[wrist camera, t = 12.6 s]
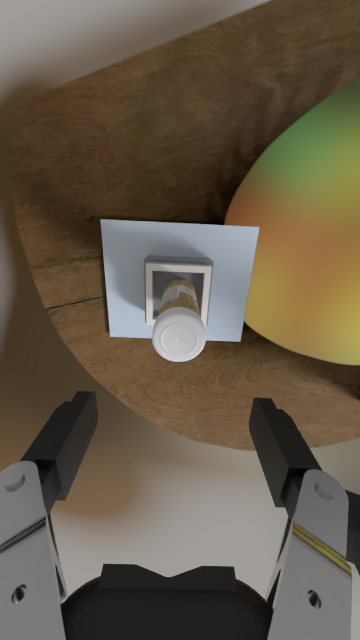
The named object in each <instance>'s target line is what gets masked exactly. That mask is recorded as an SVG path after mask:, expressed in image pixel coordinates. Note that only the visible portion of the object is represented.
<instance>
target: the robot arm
mask: <svg viewBox="0 0 360 640" xmlns="http://www.w3.org/2000/svg"><path fill="white" fill-rule="evenodd" d="M359 397H360V390H359ZM97 421H98V411H97V403H96V395H95V392H93V391H78V392H77V393H76V394H75V396H74V397H73V399H72V401H71V402H68V401H67V402H64V403H63V404H62V405H60V406H59V407H58V408H57V409H55V411H54V413H53V414H52V415H51V417H50V418H49V421H47V423H46V424H45V426H44V428H43V429H42V430H41V431H40V433H39V435H38V436H37V437H36V439H35V440H34V442H33V443H32V444H31V446H30V448H29V449H28V450H27V452H26V453H25V455H24V456H23V458H22V459H21V460H20V462H18V463H15V464H13V465H11V466H9V467H7V468H6V469H4V470H3V471H2V472H1V473H0V640H350V637H351V601H352V572H351V568H350V566H349V565H347V563H346V561H349V562H351V563H354V564H355V566H356V568H357V570H358V572H359V575H360V495H358V494H355V493H352V492H349V491H347V490H345V489H344V488H343V487H342V485H341V484H340V483H339V482H338V481H337V480H336V479H335V478H333V477H332V476H331V475H329V474H327V473H326V472H323V471H322V469H321V468H320V466H319V464H318V462H317V461H316V459H315V457H314V456H313V454H312V452H311V450H310V449H309V447H308V445H307V444H306V442H305V440H304V438H302V435H301V433H300V432H299V430H298V429H297V427H296V425H295V423H294V421H293V420H292V418H291V417H290V416H289V415H288V414H287V413H286V412H285V411H284V410H282V409H277V408H276V406H275V404H274V402H273V400H272V399H271V398H254V400H253V405H252V410H251V414H250V419H249V430H250V434H251V437H252V440H253V443H254V446H255V449H256V451H257V454H258V457H259V460H260V463H261V466H262V469H263V472H264V475H265V478H266V481H267V484H268V486H269V489H270V492H271V495H272V498H273V501H274V504H275V507H285V508H286V511H287V513H288V518H287V521H286V525H285V529H284V533H283V537H282V541H281V544H280V548H279V552H278V556H277V560H276V563H275V567H274V571H273V574H272V577H271V580H270V583H269V587H268V590H267V594H266V597H265V599H263V597H262V596H260V594H259V593H257V592H256V591H255V590H254V589H252V588H251V587H250V586H248V585H247V584H245V583H243V582H242V581H240V580H237V579H236V577H235V571H234V567H227V566H226V567H224V566H223V567H222V566H201V567H198V568H195V569H192V570H190V571H187V572H184V573H181V574H179V575H176V576H173V577H164V576H162V575H160V574H157V573H155V572H153V571H150V570H148V569H145V568H143V567H140V566H138V565H133V564H103V569H102V573H101V576H99V577H97V578H95V579H93V580H91V581H89V582H87V583H85V584H84V585H82V586H81V587H80V588H78V589H77V590H76V591H75V592H73V593H72V594H71V595H70V596H69V597H68V594H67V589H66V584H65V580H64V576H63V572H62V568H61V563H60V558H59V553H58V548H57V543H56V538H55V533H54V527H53V522H52V517H51V513H50V511H51V509H52V507H53V505H54V503H55V501H56V500H66V498H67V495H68V493H69V490H70V488H71V486H72V483H73V481H74V479H75V476H76V474H77V471H78V469H79V467H80V464H81V462H82V459H83V457H84V454H85V452H86V450H87V447H88V445H89V443H90V440H91V437H92V436H93V433H94V431H95V429H96V425H97Z"/></svg>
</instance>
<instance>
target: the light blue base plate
mask: <svg viewBox="0 0 360 640" xmlns="http://www.w3.org/2000/svg"><path fill="white" fill-rule="evenodd" d="M100 220H101V232H102V244H103V256H104V268H105V280H106V292H107V304H108V316H109V328H110V337H134V338H152V332H153V327H154V323H155V321H156V319H157V318H158V312H159V309H160V305H161V301H162V297H163V292H164V289H165V287H166V285H167V284H168V283H170V282H171V281H173V280H177V279H182V280H186V281H188V282H189V283H191V284H192V286H193V287H194V288H195V291H196V298H197V304H198V308H199V315H200V318H201V319H202V321H203V324H204V327H205V332H206V340H212V341H238V342H240V341H241V334H242V328H243V322H244V316H245V310H246V304H247V298H248V292H249V286H250V280H251V274H252V268H253V262H254V256H255V250H256V244H257V237H258V232H259V227H249V226H229V225H208V224H188V223H167V222H146V221H126V220H105V219H100Z"/></svg>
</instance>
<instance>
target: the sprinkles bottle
mask: <svg viewBox="0 0 360 640" xmlns="http://www.w3.org/2000/svg"><path fill="white" fill-rule="evenodd" d="M152 342H153V346H154V348H155V349H156V351H157V352H158V353H159V354H160V355H161V356H162V357H164V358H165V359H167V360H170V361H175V362H183V361H188V360H190V359H193V358H194V357H196V356H197V355H198V354H199V353H200V352H201V351H202V349H203V348H204V345H205V342H206V332H205V327H204V324H203V321H202V319H201V318H200V315H199V308H198V304H197V298H196V291H195V288H194V287H193V286H192V284H191V283H189V282H188V281H186V280H182V279H177V280H173V281H171V282H170V283H168V284H167V285H166V287H165V289H164V292H163V297H162V301H161V305H160V309H159V312H158V318H157V319H156V321H155V323H154V327H153V332H152Z"/></svg>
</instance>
